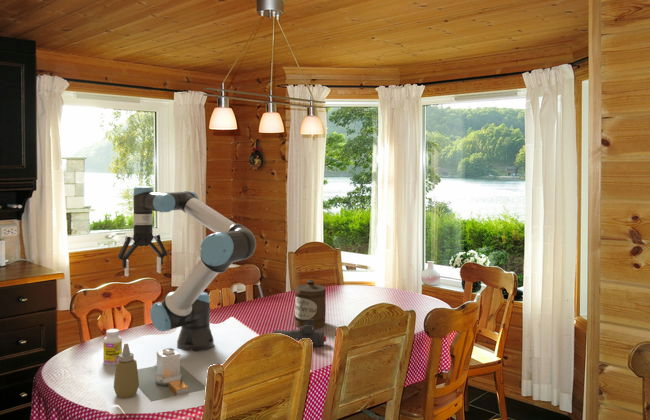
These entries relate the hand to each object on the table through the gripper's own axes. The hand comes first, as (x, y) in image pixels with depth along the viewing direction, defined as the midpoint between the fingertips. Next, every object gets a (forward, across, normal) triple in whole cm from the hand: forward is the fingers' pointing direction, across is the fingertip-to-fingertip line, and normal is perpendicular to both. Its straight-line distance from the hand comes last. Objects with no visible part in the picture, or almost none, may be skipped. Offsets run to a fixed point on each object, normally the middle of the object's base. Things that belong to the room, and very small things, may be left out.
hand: (143, 274), depth 244 cm
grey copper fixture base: (+29, -7, -49) cm, 57 cm away
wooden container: (+30, +77, -13) cm, 84 cm away
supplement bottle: (+31, -17, -14) cm, 38 cm away
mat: (+30, -7, -42) cm, 53 cm away
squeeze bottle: (+30, -23, -48) cm, 61 cm away
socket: (+27, -7, -44) cm, 52 cm away
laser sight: (+30, +57, -35) cm, 73 cm away
